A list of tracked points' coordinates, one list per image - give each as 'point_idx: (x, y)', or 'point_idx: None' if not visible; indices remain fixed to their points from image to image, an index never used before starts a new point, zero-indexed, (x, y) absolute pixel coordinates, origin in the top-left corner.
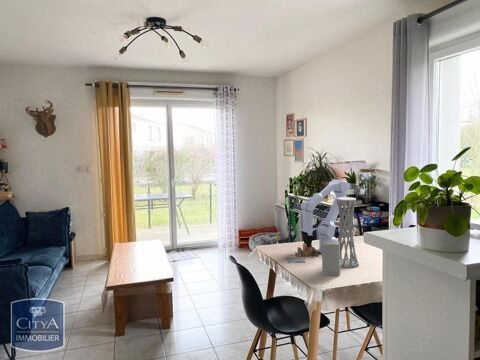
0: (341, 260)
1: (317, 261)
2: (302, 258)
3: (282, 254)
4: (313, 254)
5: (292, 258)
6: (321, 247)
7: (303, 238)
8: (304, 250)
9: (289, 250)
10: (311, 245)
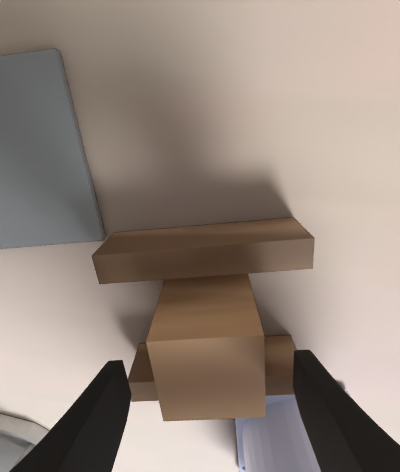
0: None
1: (16, 340)
2: (41, 240)
3: (205, 5)
4: None
5: (15, 134)
6: (270, 446)
7: (333, 416)
8: (159, 298)
9: (385, 126)
10: (162, 412)
